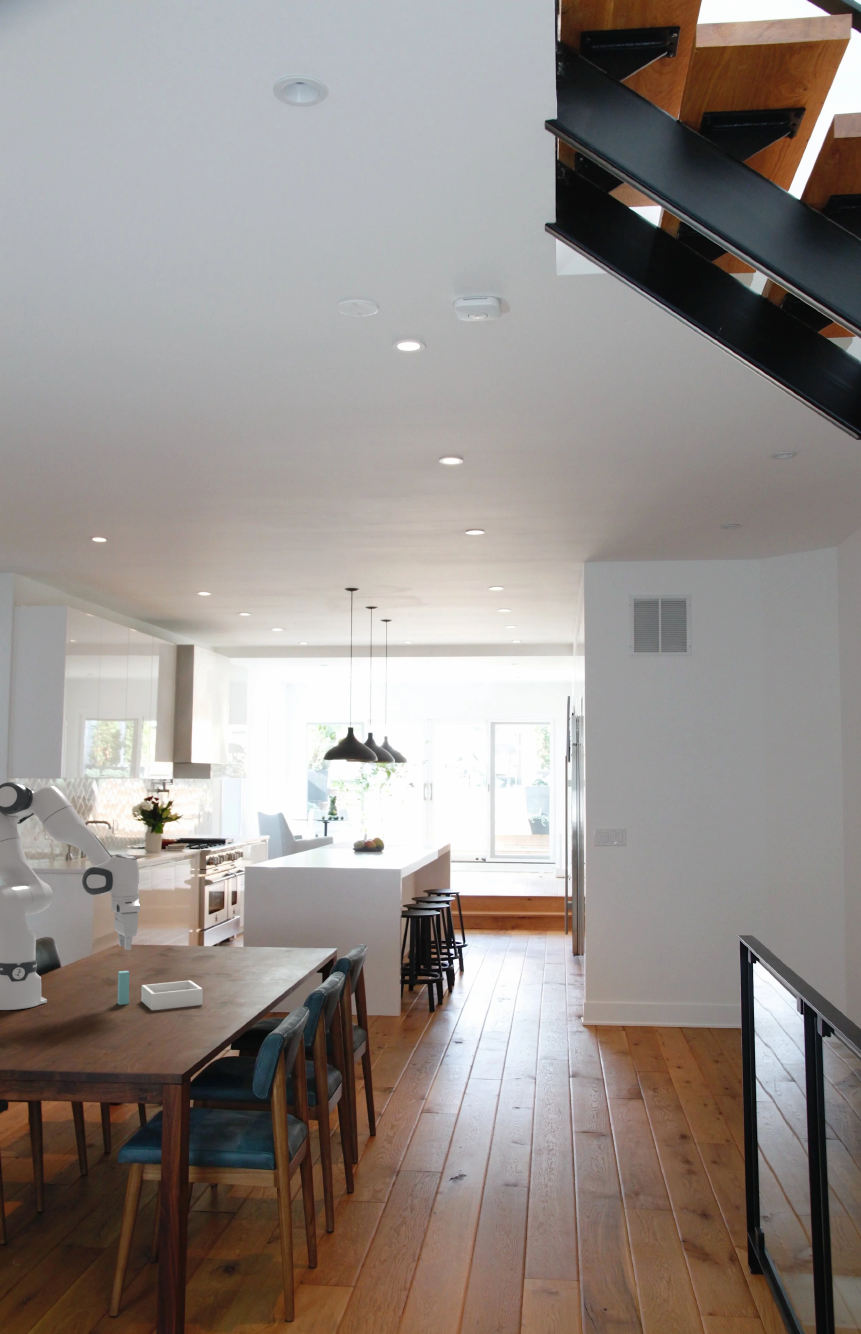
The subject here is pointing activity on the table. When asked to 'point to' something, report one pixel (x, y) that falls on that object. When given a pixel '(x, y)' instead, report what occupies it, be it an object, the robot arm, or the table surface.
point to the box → (172, 995)
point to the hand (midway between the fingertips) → (125, 948)
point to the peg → (123, 987)
